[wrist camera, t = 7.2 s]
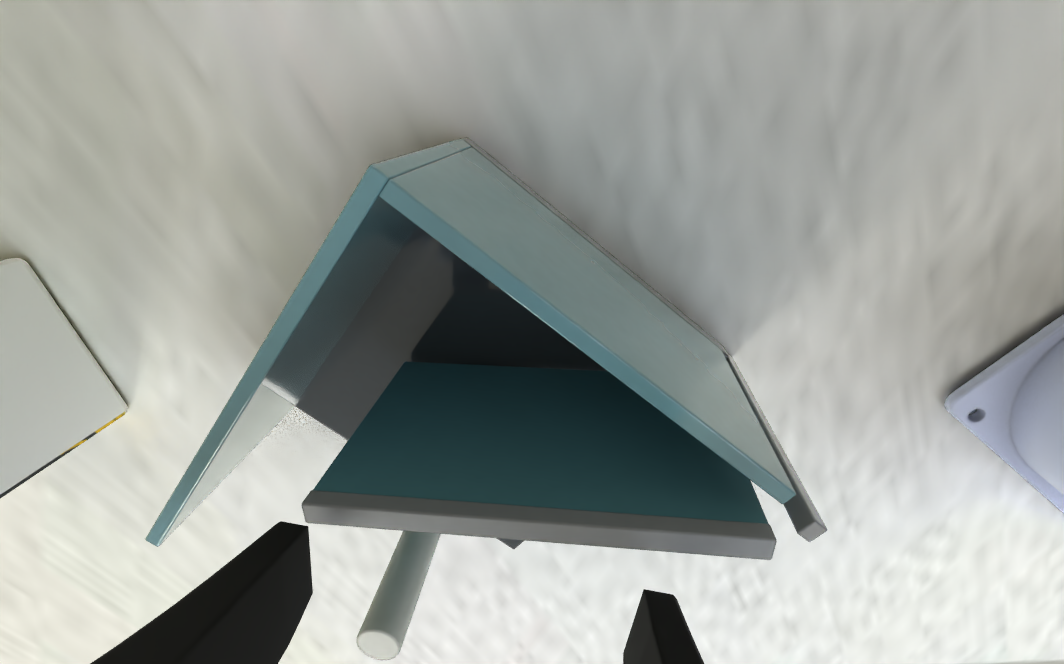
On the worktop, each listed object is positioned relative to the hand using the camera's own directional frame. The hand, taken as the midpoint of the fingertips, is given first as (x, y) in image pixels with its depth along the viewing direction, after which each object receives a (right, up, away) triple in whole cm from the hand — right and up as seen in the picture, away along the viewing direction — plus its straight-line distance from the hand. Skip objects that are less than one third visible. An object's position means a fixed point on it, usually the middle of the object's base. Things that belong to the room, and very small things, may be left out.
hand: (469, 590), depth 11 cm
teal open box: (0, +4, +8) cm, 9 cm away
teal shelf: (+2, +2, +8) cm, 8 cm away
